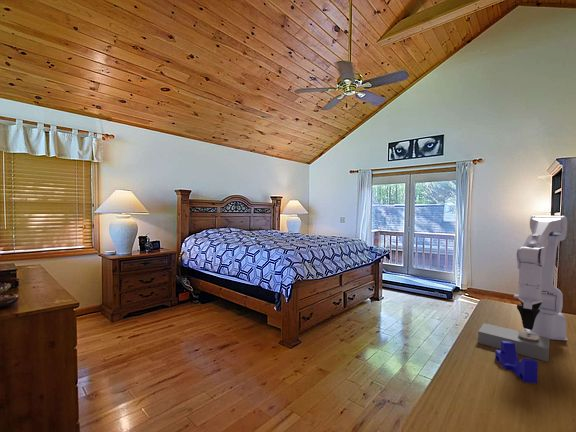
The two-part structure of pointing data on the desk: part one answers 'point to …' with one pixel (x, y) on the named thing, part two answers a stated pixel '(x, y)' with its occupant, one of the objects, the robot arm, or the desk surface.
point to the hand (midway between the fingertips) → (528, 325)
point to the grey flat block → (497, 334)
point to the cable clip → (517, 362)
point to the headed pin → (528, 336)
